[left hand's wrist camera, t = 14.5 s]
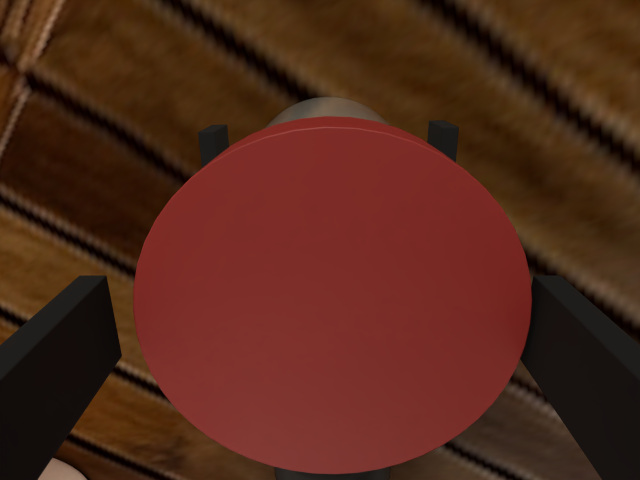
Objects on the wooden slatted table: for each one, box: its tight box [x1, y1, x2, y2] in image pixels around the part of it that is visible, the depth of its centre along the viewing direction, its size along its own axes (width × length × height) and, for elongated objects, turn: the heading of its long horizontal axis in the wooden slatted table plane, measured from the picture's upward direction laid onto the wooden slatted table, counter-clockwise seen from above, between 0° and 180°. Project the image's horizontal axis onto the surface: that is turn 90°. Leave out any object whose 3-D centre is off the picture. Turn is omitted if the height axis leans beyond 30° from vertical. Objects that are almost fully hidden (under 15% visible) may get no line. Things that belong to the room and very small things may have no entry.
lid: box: [133, 116, 532, 474], centre depth 14 cm, size 11×11×2 cm
